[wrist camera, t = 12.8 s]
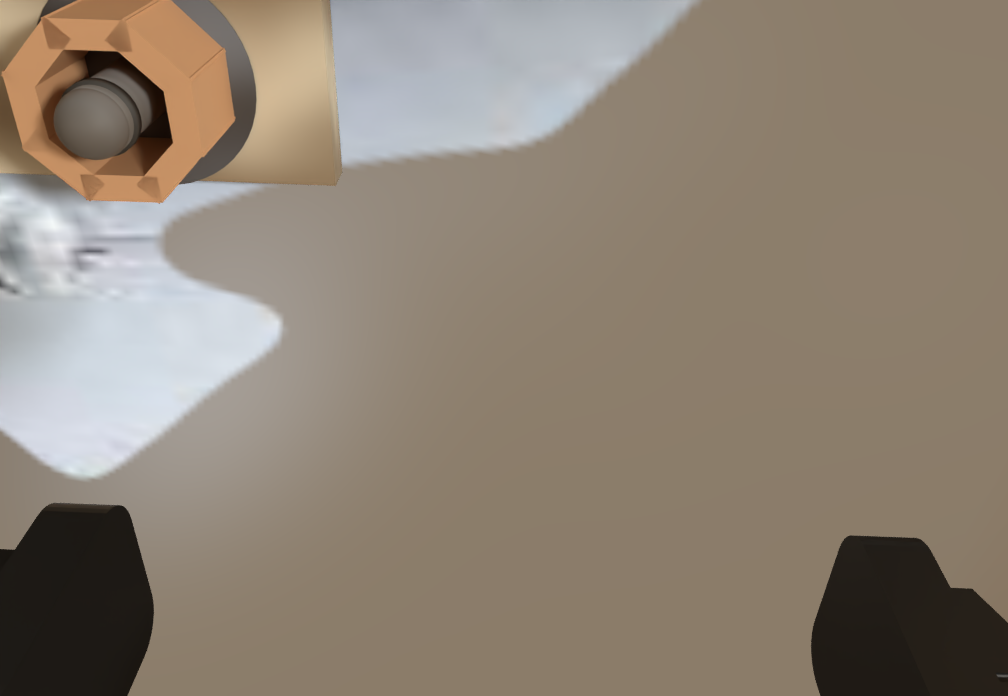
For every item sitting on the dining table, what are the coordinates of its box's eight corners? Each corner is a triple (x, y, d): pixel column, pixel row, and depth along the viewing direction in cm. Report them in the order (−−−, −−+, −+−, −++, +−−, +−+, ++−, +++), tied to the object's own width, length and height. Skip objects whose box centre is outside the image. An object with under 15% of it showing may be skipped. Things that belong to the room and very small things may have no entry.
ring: (40, -10, 32) (-17, 14, 28) (218, -5, 32) (182, 20, 28) (82, 160, 35) (36, 199, 32) (242, 165, 35) (213, 205, 32)
